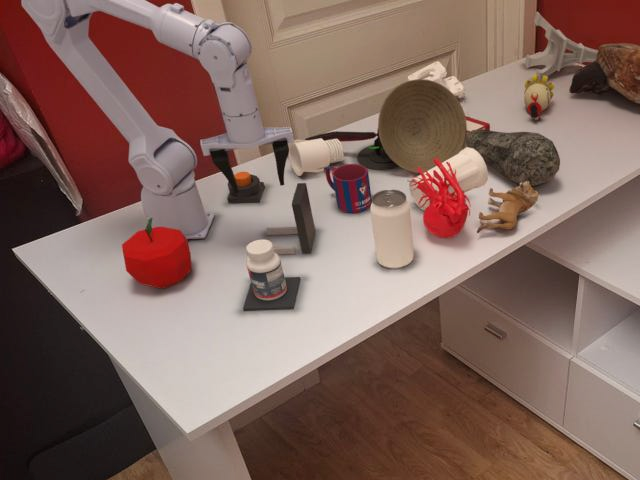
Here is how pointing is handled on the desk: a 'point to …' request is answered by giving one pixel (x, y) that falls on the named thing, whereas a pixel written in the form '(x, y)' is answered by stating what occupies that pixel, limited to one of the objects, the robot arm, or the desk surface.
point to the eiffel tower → (558, 51)
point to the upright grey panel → (298, 223)
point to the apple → (157, 256)
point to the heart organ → (443, 202)
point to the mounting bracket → (436, 74)
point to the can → (392, 228)
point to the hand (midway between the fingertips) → (259, 186)
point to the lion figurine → (509, 206)
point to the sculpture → (611, 72)
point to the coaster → (281, 303)
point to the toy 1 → (345, 136)
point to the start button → (243, 178)
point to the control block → (247, 192)
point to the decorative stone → (517, 154)
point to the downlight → (314, 154)
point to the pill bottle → (265, 270)
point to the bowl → (421, 124)
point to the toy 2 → (537, 95)
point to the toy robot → (376, 157)
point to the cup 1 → (350, 187)
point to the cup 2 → (467, 174)
